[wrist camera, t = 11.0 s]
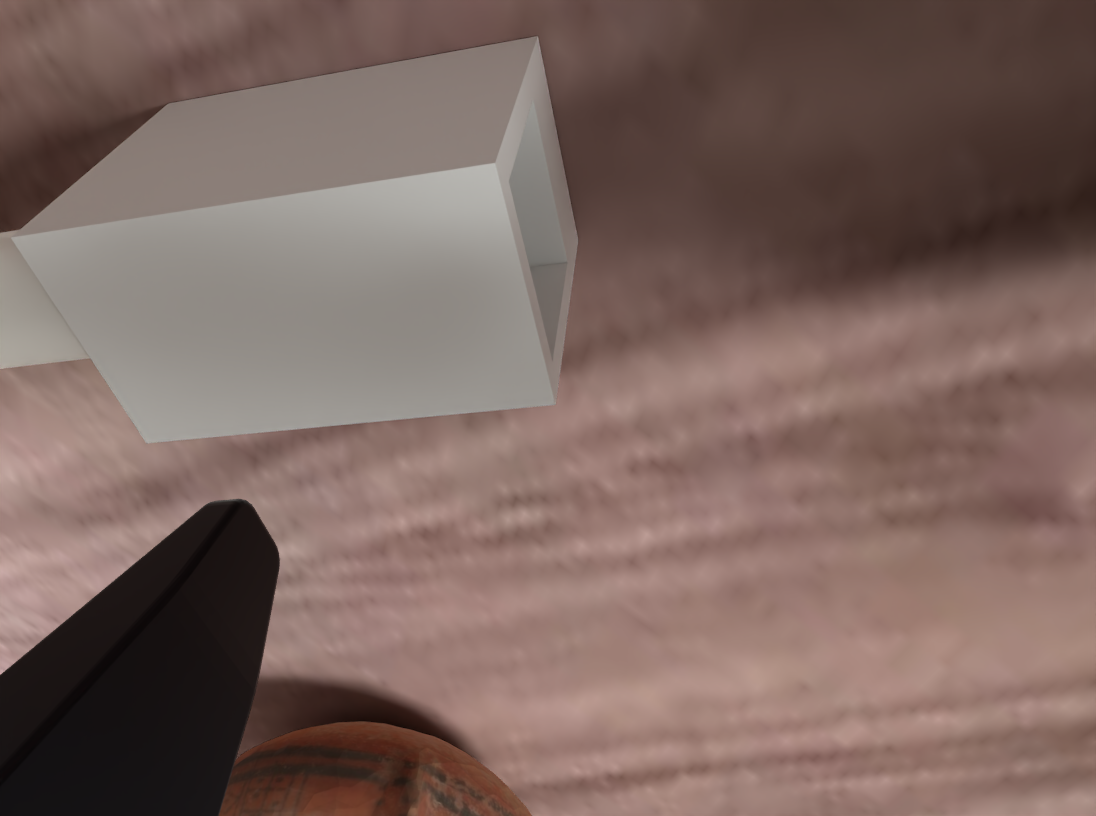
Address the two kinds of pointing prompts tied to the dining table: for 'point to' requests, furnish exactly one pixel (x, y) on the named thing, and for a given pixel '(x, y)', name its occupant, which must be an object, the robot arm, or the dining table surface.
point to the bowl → (364, 776)
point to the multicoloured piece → (30, 316)
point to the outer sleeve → (324, 250)
